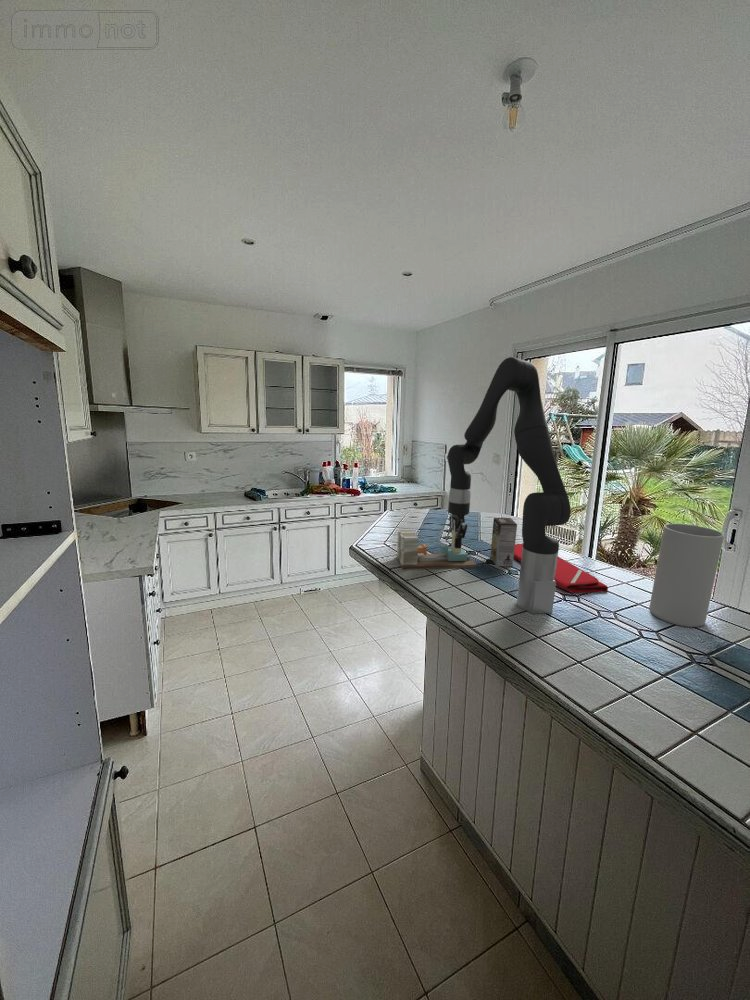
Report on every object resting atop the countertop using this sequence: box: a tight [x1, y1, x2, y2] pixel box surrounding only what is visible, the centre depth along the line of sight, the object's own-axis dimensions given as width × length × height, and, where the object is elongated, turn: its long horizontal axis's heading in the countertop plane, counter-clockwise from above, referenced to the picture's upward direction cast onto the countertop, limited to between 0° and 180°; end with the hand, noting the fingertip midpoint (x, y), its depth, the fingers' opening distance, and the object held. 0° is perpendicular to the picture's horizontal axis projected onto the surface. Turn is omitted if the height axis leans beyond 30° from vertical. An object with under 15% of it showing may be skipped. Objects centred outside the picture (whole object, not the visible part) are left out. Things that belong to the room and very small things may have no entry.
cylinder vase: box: [649, 523, 725, 628], centre depth 108 cm, size 12×12×25 cm
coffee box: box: [490, 517, 518, 567], centre depth 148 cm, size 9×6×16 cm
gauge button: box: [418, 543, 428, 555], centre depth 146 cm, size 3×6×3 cm, turn 97°
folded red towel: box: [513, 543, 609, 594], centre depth 144 cm, size 16×41×4 cm, turn 9°
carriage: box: [439, 530, 469, 561], centre depth 147 cm, size 6×9×11 cm, turn 97°
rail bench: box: [396, 530, 478, 570], centre depth 146 cm, size 12×27×11 cm, turn 97°
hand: (456, 546), depth 147 cm, fingers closed on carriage, 3 cm apart
